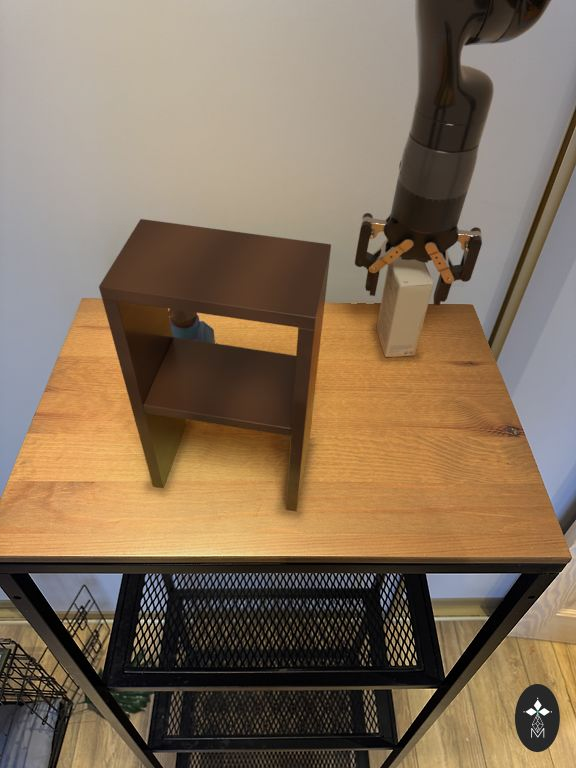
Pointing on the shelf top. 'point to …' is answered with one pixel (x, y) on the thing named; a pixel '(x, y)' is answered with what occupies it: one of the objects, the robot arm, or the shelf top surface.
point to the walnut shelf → (210, 360)
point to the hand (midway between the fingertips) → (404, 296)
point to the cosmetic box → (403, 306)
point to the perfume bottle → (190, 326)
